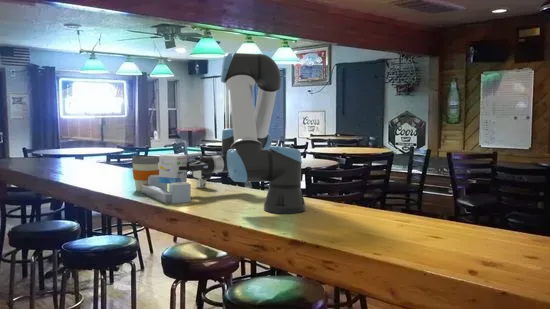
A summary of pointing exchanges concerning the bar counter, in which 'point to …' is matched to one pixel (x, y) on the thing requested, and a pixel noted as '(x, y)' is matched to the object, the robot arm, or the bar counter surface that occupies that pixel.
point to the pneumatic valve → (201, 178)
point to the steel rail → (157, 193)
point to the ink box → (164, 168)
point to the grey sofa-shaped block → (173, 189)
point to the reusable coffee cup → (144, 169)
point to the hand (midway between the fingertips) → (164, 167)
